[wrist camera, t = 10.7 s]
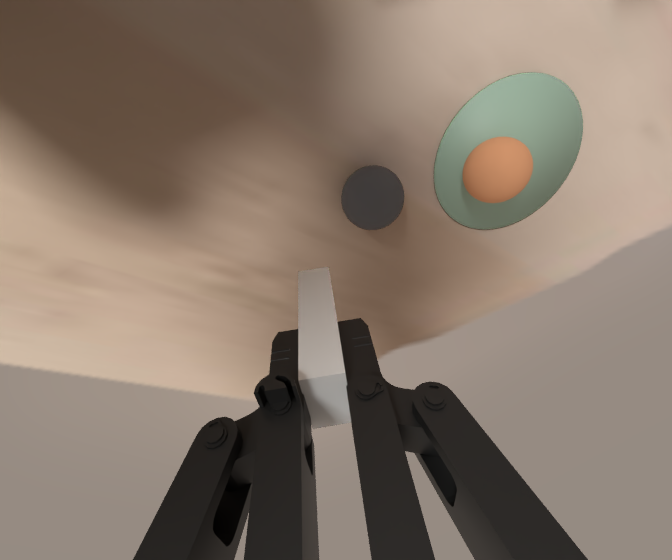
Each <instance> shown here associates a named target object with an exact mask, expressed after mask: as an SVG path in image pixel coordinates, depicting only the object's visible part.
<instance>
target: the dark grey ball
mask: <svg viewBox="0 0 672 560" xmlns="http://www.w3.org/2000/svg"><path fill="white" fill-rule="evenodd" d="M341 201H342V207H343V210H344V213H345V214H346V216H347V218H348V219H349V220H350V221H351V222H352V223H353V224H355V225H356V226H358V227H360V228H363V229H366V230H377V229H381V228H384V227H386V226H388V225H389V224H391V223H392V222H393V221H394V220H395V219H396V218H397V217H398V215H399V214H400V212H401V210H402V207H403V203H404V191H403V187H402V184H401V182H400V180H399V179H398V177H397V176H396V175H395V174H394V173H393V172H392V171H390V170H389V169H387V168H384V167H381V166H366V167H363V168H360V169H358V170H357V171H355V172H354V173H353V174H352V175H351V176H350V177H349V178H348V179H347V181H346V183H345V185H344V187H343V190H342V195H341Z"/></svg>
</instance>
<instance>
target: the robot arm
mask: <svg viewBox="0 0 672 560" xmlns="http://www.w3.org/2000/svg"><path fill="white" fill-rule="evenodd" d="M254 395H255V397H256V399H257V402H258V404H259V406H260V407H259V408H258V409H257V410H256V411H254V412H253V413H251V414H249V415H247V416H245V417H243V418H241V419H239V420H237V421H235V422H234V421H233V420H232V419H231V418H227V417H221V418H216V419H214V420H212V421H210V422H208V423H207V424H206V425H205V426H204V427H202V429H201V430H200V431H199V433H198V434H197V436H196V438H195V440H194V442H193V443H192V445H191V447H190V449H189V451H188V453H187V455H186V457H185V459H184V461H183V463H182V465H181V467H180V469H179V471H178V473H177V475H176V477H175V479H174V481H173V483H172V485H171V486H170V488H169V490H168V492H167V494H166V496H165V498H164V500H163V502H162V504H161V506H160V508H159V510H158V512H157V514H156V516H155V518H154V520H153V522H152V524H151V526H150V527H149V529H148V531H147V533H146V535H145V537H144V539H143V541H142V543H141V545H140V547H139V549H138V551H137V553H136V555H135V557H134V559H133V560H234V558H235V554H236V551H237V548H238V545H239V541H240V539H241V535H242V532H243V529H244V525H245V522H246V519H247V516H248V513H249V519H248V528H247V536H246V545H245V555H244V560H319V548H318V547H319V546H318V525H317V502H316V479H315V458H314V457H315V456H314V443H313V439H312V435H311V425H312V428H313V429H315V428H321V427H326V426H333V425H339V424H344V423H352V430H353V436H354V443H355V449H356V457H357V463H358V470H359V477H360V483H361V490H362V496H363V504H364V510H365V517H366V524H367V531H368V537H369V544H370V551H371V556H372V560H435V558H434V554H433V550H432V547H431V544H430V540H429V536H428V532H427V529H426V526H425V522H424V518H423V515H422V511H421V507H420V504H419V500H418V497H417V493H416V490H415V486H414V482H413V479H412V475H411V472H410V468H409V465H408V461H407V457H406V454H405V451H408V452H413V453H415V455H416V456H417V458H418V460H419V462H420V464H421V465H422V467H423V469H424V470H425V472H426V474H427V476H428V478H429V479H430V481H431V483H432V485H433V486H434V488H435V490H436V492H437V494H438V495H439V497H440V499H441V501H442V502H443V504H444V506H445V507H446V509H447V511H448V513H449V515H450V516H451V518H452V520H453V522H454V524H455V525H456V527H457V529H458V531H459V532H460V534H461V536H462V538H463V539H464V541H465V543H466V545H467V547H468V548H469V550H470V552H471V553H472V555H473V557H474V559H475V560H588V559H587V558H586V557H585V556H584V554H583V553H582V552H581V551H580V549H579V548H578V547H577V546H576V544H575V543H574V542H573V541H572V539H571V538H570V537H569V536H568V534H567V533H566V532H565V531H564V529H563V528H562V527H561V526H560V524H559V523H558V522H557V521H556V520H555V518H554V517H553V516H552V515H551V513H550V512H549V511H548V510H547V508H546V507H545V506H544V505H543V503H542V502H541V501H540V500H539V498H538V497H537V496H536V495H535V493H534V492H533V491H532V490H531V489H530V487H529V486H528V485H527V484H526V482H525V481H524V480H523V479H522V477H521V476H520V475H519V474H518V472H517V471H516V470H515V469H514V467H513V466H512V465H511V464H510V462H509V461H508V460H507V459H506V457H505V456H504V455H503V454H502V452H501V451H500V450H499V449H498V448H497V446H496V445H495V444H494V443H493V441H492V440H491V439H490V438H489V436H488V435H487V434H486V433H485V431H484V430H483V429H482V428H481V427H480V425H479V424H478V423H477V421H476V420H475V419H474V418H473V416H472V415H471V414H470V413H469V412H468V410H467V409H466V408H465V407H464V405H463V404H462V403H461V402H460V400H459V399H458V398H457V397H456V395H455V394H454V393H453V392H452V391H451V390H450V389H449V388H448V387H447V386H445V385H442V384H440V383H436V382H426V383H422V384H421V385H419V386H417V387H416V389H415V390H410V389H403V388H398V387H395V386H393V385H391V384H389V383H388V382H387V381H386V380H385V379H384V378H383V377H382V374H381V372H380V368H379V365H378V361H377V357H376V354H375V350H374V347H373V343H372V339H371V336H370V332H369V328H368V325H367V324H366V323H365V322H364V321H363V320H362V319H361V318H359V319H353V320H346V321H340V322H338V321H337V315H336V309H335V303H334V297H333V290H332V284H331V278H330V272H329V267H323V268H317V269H310V270H304V271H298V329H296V330H290V331H284V332H278V334H277V335H276V337H275V339H274V340H273V342H272V354H271V362H270V373H269V375H268V376H266V377H265V378H263V379H262V380H261V381H260V382H259V383H258V384H257V386H256V388H255V391H254Z"/></svg>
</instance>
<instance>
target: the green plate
mask: <svg viewBox="0 0 672 560" xmlns="http://www.w3.org/2000/svg"><path fill="white" fill-rule="evenodd" d="M582 132H583V119H582V112H581V108H580V105H579V102H578V100H577V98H576V96H575V94H574V93H573V92H572V90H571V89H570V88H569V87H568V86H567V85H566V84H565V83H564V82H562V81H561V80H559V79H557V78H555V77H553V76H551V75H547V74H543V73H533V72H531V73H520V74H516V75H511V76H508V77H505V78H503V79H500V80H498V81H496V82H494V83H492V84H490V85H489V86H487V87H486V88H484V89H483V90H481V91H480V92H478V93H477V94H476V95H475V96H474V97H473V98H471V99H470V100H469V101H468V102H467V103H466V104H465V105H464V106H463V107H462V108H461V110H460V111H459V112H458V113H457V115H456V116H455V117H454V119H453V120H452V122H451V123H450V125H449V126H448V128H447V130H446V132H445V134H444V136H443V138H442V140H441V143H440V145H439V148H438V151H437V155H436V160H435V166H434V185H435V191H436V194H437V197H438V200H439V202H440V204H441V206H442V207H443V209H444V210H445V212H446V213H447V214H448V215H449V216H450V217H451V218H452V219H454V220H455V221H457V222H458V223H460V224H462V225H464V226H467V227H470V228H475V229H496V228H501V227H505V226H508V225H511V224H513V223H516V222H518V221H520V220H522V219H524V218H526V217H527V216H529V215H531V214H532V213H533V212H535V211H536V210H538V209H539V208H540V207H541V206H543V205H544V204H545V203H546V202H547V201H548V200H549V199H550V198H551V197H552V196H553V195H554V194H555V193H556V191H557V190H558V189H559V188H560V186H561V185H562V184H563V182H564V181H565V179H566V178H567V176H568V174H569V173H570V171H571V169H572V167H573V165H574V163H575V161H576V158H577V155H578V152H579V149H580V145H581V140H582ZM495 137H511V138H515V139H517V140H519V141H521V142H522V143H524V144H525V145H526V146H527V148H528V149H529V151H530V153H531V155H532V159H533V172H532V175H531V178H530V180H529V182H528V184H527V185H526V186H525V188H524V189H523V190H522V191H521V192H520V193H519V194H517V195H516V196H514V197H513V198H511V199H509V200H507V201H504V202H500V203H486V202H482V201H479V200H477V199H475V198H474V197H473V196H471V195H470V194H469V192H468V191H467V190H466V188H465V186H464V183H463V176H462V174H463V167H464V164H465V161H466V159H467V157H468V156H469V154H470V153H471V152H472V150H473V149H474V148H476V147H477V146H478V145H479V144H481V143H482V142H484V141H486V140H488V139H491V138H495Z"/></svg>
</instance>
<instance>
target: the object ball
mask: <svg viewBox="0 0 672 560" xmlns="http://www.w3.org/2000/svg"><path fill="white" fill-rule="evenodd" d="M532 172H533V159H532V155H531V153H530V151H529V149H528V148H527V146H526V145H525V144H524V143H522V142H521V141H519V140H517V139H515V138H511V137H495V138H491V139H488V140H486V141H484V142H482V143H481V144H479V145H478V146H477V147H476V148H474V149H473V150H472V152H471V153H470V154H469V156H468V157H467V159H466V161H465V164H464V167H463V174H462V176H463V183H464V186H465V188H466V190H467V191H468V192H469V194H470V195H471V196H473V197H474V198H475V199H477V200H479V201H482V202H486V203H500V202H504V201H507V200H509V199H511V198H513V197H514V196H516V195H517V194H519V193H520V192H521V191H522V190H523V189H524V188H525V186H526V185H527V184H528V182H529V180H530V178H531V175H532Z"/></svg>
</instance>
